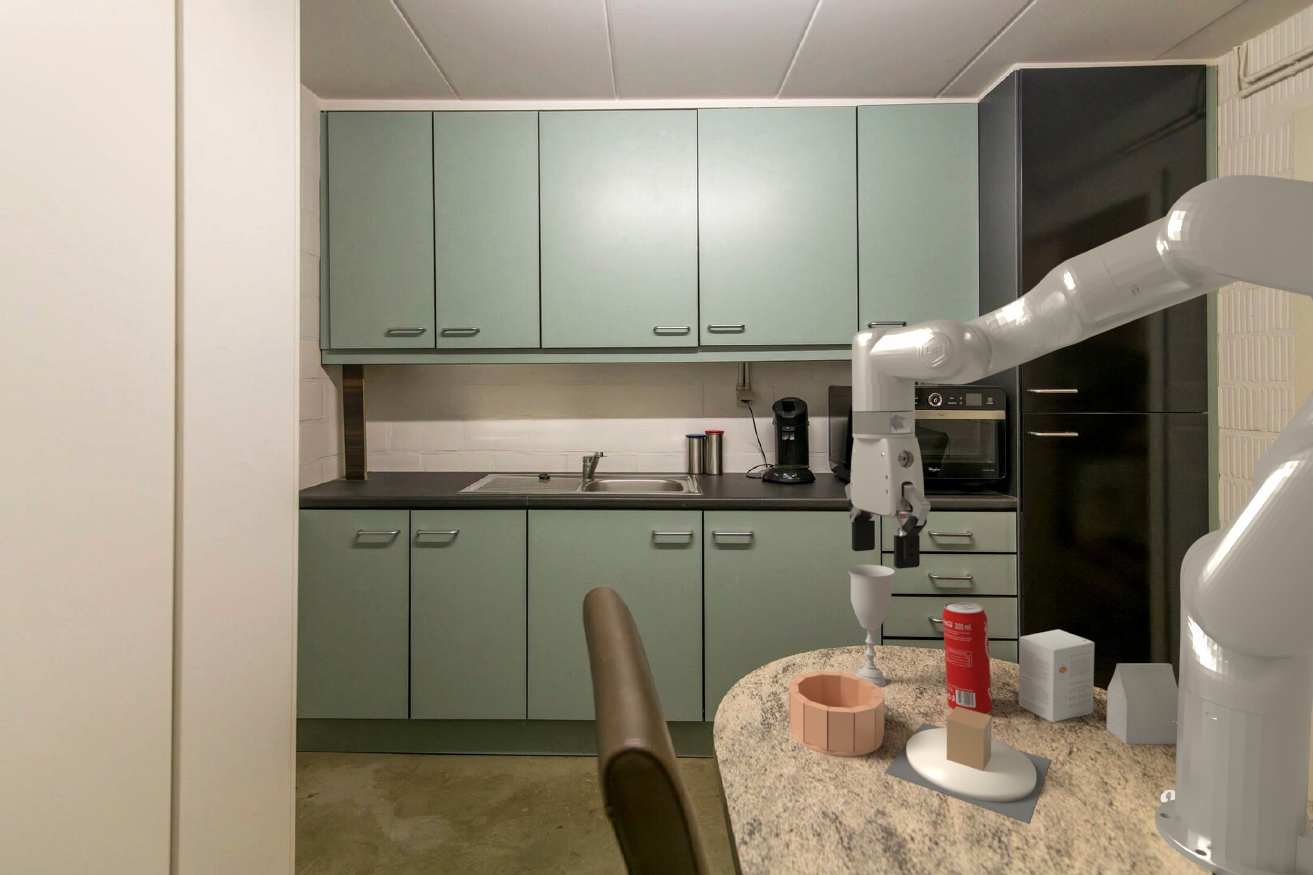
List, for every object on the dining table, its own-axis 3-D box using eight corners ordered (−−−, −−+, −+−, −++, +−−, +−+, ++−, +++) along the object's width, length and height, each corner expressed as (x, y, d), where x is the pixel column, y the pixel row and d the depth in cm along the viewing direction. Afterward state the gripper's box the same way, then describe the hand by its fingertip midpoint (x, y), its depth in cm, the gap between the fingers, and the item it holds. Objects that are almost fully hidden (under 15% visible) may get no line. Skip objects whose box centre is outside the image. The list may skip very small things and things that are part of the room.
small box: (1057, 697, 96) (1058, 628, 95) (1094, 714, 90) (1096, 641, 90) (1016, 707, 93) (1018, 635, 92) (1052, 725, 88) (1054, 649, 87)
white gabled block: (1180, 746, 82) (1182, 669, 81) (1125, 746, 82) (1127, 670, 81) (1158, 731, 85) (1160, 658, 85) (1106, 732, 86) (1108, 658, 85)
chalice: (867, 670, 106) (867, 562, 105) (903, 684, 100) (904, 571, 99) (837, 681, 102) (837, 569, 101) (873, 697, 96) (874, 578, 95)
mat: (1050, 762, 79) (1050, 759, 79) (1028, 826, 67) (1028, 822, 67) (923, 725, 88) (923, 722, 88) (884, 775, 76) (884, 772, 76)
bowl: (895, 729, 87) (896, 686, 86) (862, 770, 77) (862, 721, 77) (813, 704, 94) (813, 664, 94) (773, 738, 85) (773, 694, 85)
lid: (1045, 759, 78) (1046, 712, 78) (1024, 818, 68) (1025, 763, 67) (925, 724, 87) (926, 681, 87) (890, 771, 76) (890, 722, 76)
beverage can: (997, 721, 89) (999, 614, 88) (947, 717, 90) (948, 611, 89) (984, 701, 95) (986, 600, 94) (937, 697, 96) (938, 598, 95)
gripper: (954, 426, 75) (954, 572, 76) (872, 423, 92) (872, 542, 92) (896, 428, 73) (897, 577, 74) (823, 425, 90) (825, 546, 91)
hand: (883, 558), depth 83 cm, fingers open, 9 cm apart
